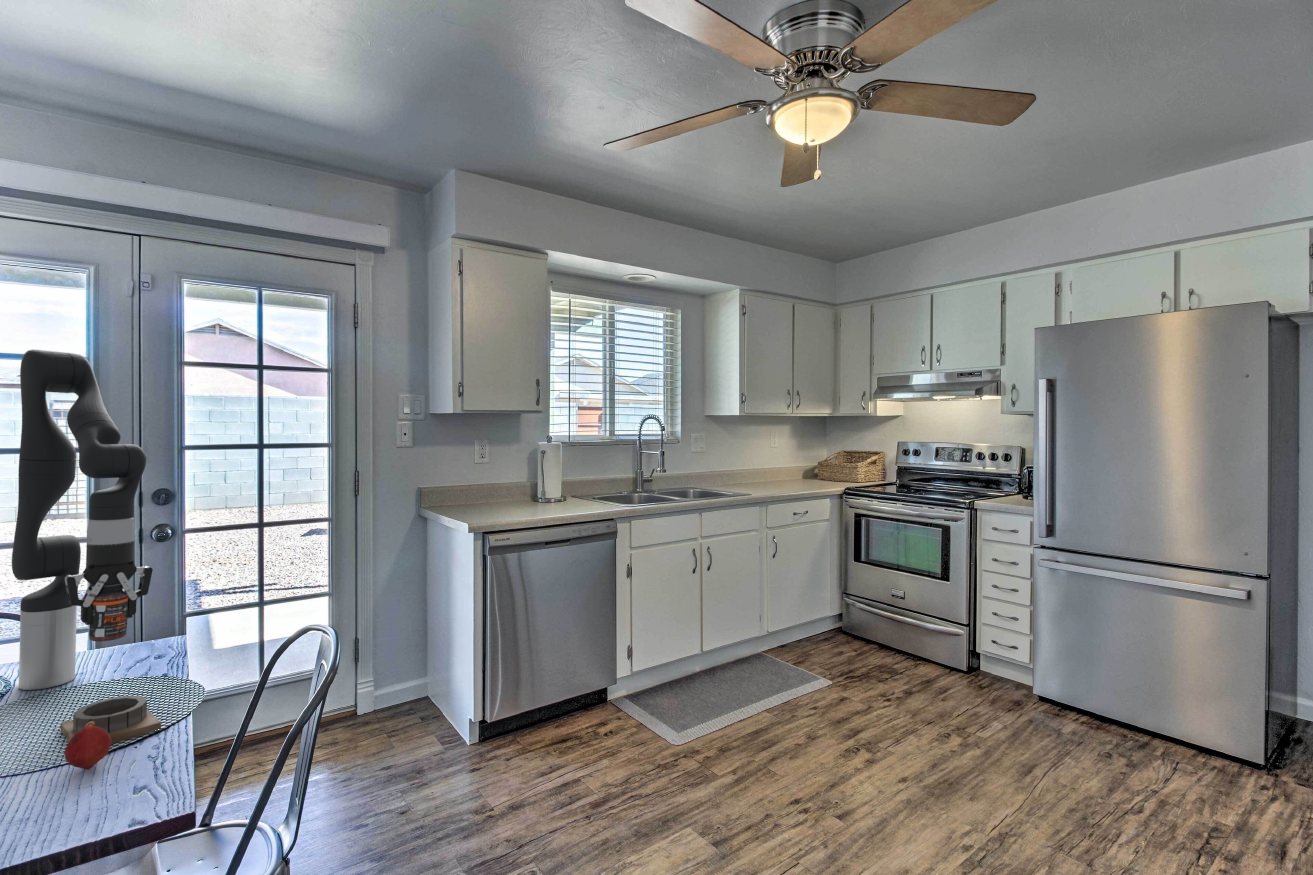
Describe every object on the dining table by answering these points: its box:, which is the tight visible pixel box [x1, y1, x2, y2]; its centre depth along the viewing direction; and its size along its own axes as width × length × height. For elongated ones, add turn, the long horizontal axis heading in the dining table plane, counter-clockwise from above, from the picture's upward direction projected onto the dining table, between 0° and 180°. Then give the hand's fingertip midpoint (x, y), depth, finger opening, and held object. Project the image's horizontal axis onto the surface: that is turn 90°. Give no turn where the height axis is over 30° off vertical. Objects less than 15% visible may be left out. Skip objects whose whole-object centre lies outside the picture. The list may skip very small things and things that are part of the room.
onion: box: [64, 721, 112, 770], centre depth 106 cm, size 6×6×8 cm
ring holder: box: [59, 695, 162, 745], centre depth 120 cm, size 14×12×4 cm
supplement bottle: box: [88, 584, 128, 643], centre depth 130 cm, size 6×6×11 cm
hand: (108, 620), depth 130 cm, fingers closed on supplement bottle, 6 cm apart
